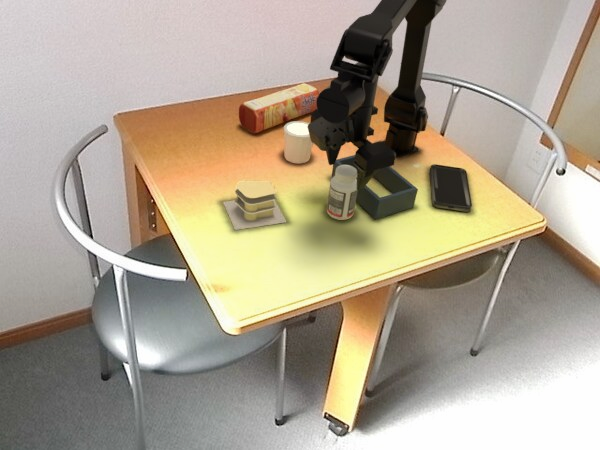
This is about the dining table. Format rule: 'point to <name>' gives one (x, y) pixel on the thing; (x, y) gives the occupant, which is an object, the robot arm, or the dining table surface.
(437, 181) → the phone
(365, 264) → the dining table surface
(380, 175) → the bin
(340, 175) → the pill bottle
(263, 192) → the stacked layers on plate
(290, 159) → the white cup
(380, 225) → the dining table surface
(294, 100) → the snack package
